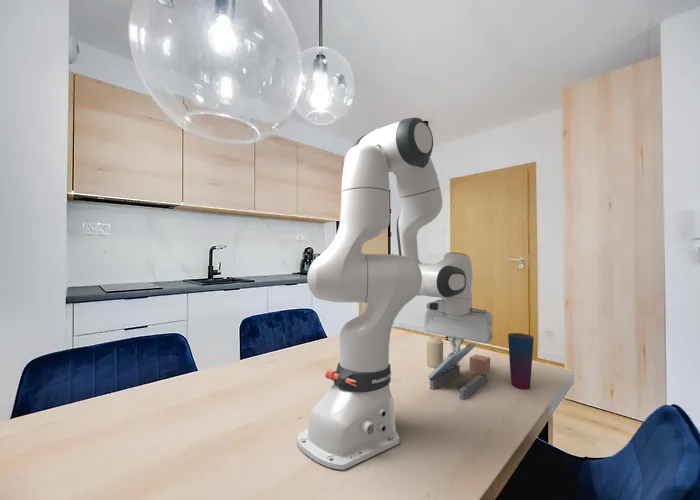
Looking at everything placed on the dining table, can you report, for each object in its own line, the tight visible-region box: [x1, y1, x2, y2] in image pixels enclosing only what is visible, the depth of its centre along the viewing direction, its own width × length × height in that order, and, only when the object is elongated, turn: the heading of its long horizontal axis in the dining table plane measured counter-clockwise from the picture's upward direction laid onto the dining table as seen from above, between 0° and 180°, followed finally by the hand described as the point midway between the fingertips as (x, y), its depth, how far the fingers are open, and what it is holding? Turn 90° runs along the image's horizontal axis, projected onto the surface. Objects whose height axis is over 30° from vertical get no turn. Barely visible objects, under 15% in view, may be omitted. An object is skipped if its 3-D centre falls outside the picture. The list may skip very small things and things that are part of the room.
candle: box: [426, 336, 444, 369], centre depth 112 cm, size 6×6×10 cm
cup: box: [507, 332, 535, 390], centre depth 95 cm, size 7×7×15 cm
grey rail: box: [429, 364, 489, 401], centre depth 95 cm, size 18×10×3 cm, turn 137°
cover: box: [427, 342, 477, 381], centre depth 97 cm, size 18×10×2 cm
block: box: [469, 353, 491, 374], centre depth 108 cm, size 5×5×4 cm
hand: (456, 351), depth 96 cm, fingers closed
